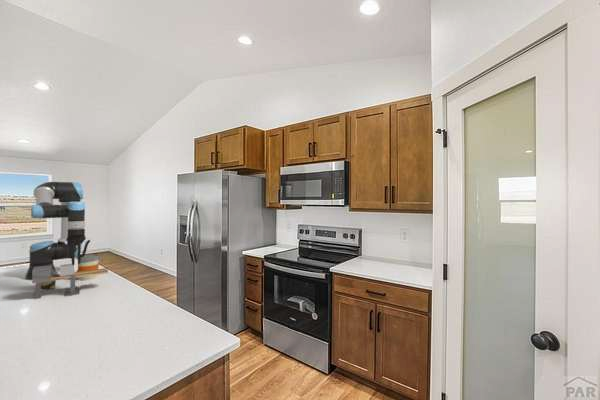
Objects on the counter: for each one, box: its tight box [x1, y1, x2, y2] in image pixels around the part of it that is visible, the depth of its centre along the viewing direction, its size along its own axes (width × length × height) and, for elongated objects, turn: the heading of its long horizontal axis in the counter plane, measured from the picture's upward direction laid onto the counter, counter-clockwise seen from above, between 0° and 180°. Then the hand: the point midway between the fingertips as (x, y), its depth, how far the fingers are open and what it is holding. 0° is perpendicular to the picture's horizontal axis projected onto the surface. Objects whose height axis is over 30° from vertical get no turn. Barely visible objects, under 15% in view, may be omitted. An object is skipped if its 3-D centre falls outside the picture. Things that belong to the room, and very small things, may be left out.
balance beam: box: [31, 265, 109, 285], centre depth 152 cm, size 9×32×8 cm, turn 129°
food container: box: [41, 269, 59, 291], centre depth 159 cm, size 12×6×10 cm, turn 84°
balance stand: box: [34, 276, 81, 300], centre depth 148 cm, size 12×18×10 cm, turn 129°
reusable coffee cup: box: [75, 253, 100, 281], centre depth 178 cm, size 12×13×15 cm
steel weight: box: [59, 263, 76, 277], centre depth 150 cm, size 5×6×6 cm
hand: (76, 269), depth 153 cm, fingers closed
